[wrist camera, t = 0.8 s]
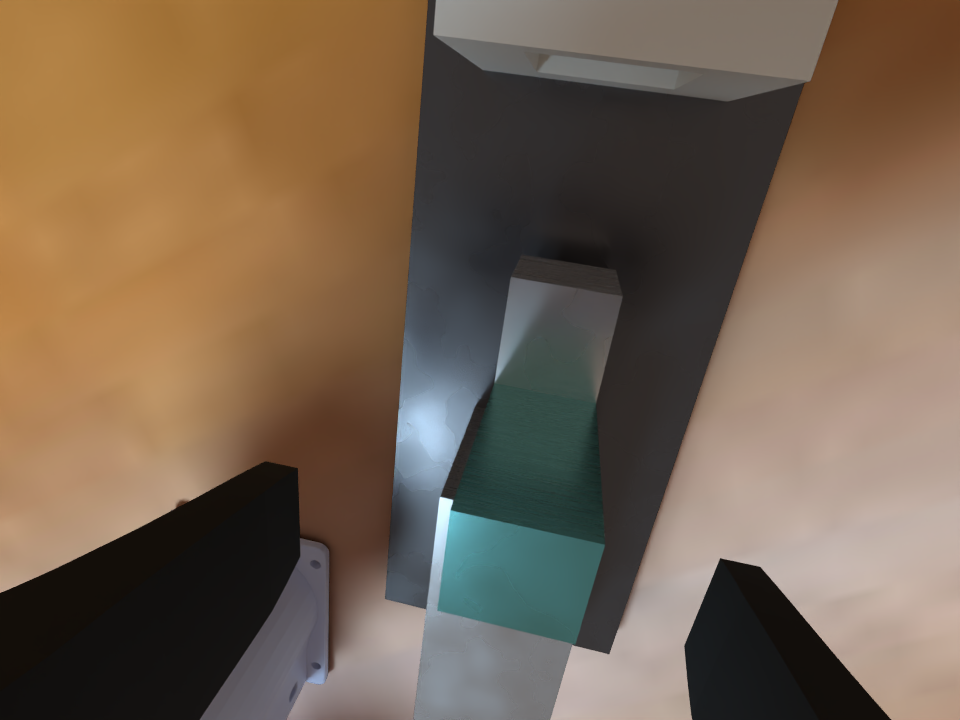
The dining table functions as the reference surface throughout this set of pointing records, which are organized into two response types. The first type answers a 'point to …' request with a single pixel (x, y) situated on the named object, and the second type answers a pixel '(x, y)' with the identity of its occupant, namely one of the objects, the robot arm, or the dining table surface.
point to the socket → (644, 42)
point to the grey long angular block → (636, 340)
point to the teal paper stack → (536, 459)
